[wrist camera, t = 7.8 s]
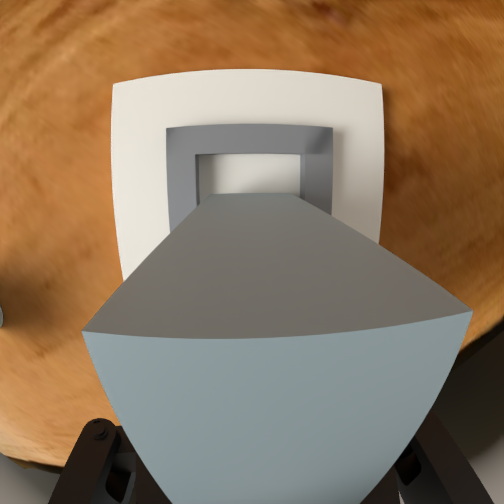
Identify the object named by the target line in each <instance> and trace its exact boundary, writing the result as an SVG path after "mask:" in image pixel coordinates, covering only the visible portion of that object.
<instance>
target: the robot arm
mask: <svg viewBox="0 0 504 504" xmlns="http://www.w3.org/2000/svg"><path fill="white" fill-rule="evenodd" d="M135 478H136V504H172V502H171V501H170V500H169V499H168V497H167V496H166V495H165V493H164V492H163V491H162V489H161V488H160V486H159V485H158V484H157V482H156V481H155V479H154V478H153V477H152V475H151V474H150V472H149V471H148V469H147V468H146V466H145V465H144V463H143V461H142V460H141V458H140V457H139V455H138V453H137V452H136V450H135V448H134V447H133V445H132V443H131V442H130V440H129V438H128V436H127V435H126V433H125V431H124V429H123V427H122V426H115V425H114V424H113V423H112V422H111V421H109V420H107V419H103V418H97V419H93V420H91V421H90V422H88V423H87V424H86V425H85V426H84V428H83V430H82V432H81V434H80V436H79V438H78V440H77V442H76V444H75V446H74V448H73V450H72V452H71V454H70V456H69V458H68V460H67V462H66V464H65V467H64V469H63V471H62V473H61V475H60V477H59V480H58V482H57V484H56V486H55V489H54V491H53V493H52V496H51V498H50V500H49V503H48V504H128V502H129V499H130V495H131V492H132V488H133V485H134V481H135ZM398 490H399V491H398ZM399 492H400V494H401V497H402V499H403V501H404V503H405V504H494V503H493V501H492V499H491V498H490V496H489V494H488V493H487V491H486V489H485V488H484V486H483V484H482V483H481V481H480V479H479V478H478V477H477V475H476V473H475V472H474V470H473V468H472V467H471V465H470V464H469V462H468V461H467V459H466V457H465V456H464V455H463V453H462V451H461V450H460V448H459V447H458V445H457V444H456V442H455V441H454V439H453V438H452V437H451V435H450V434H449V432H448V431H447V429H446V428H445V426H444V425H443V424H442V422H441V421H440V420H439V418H438V416H437V415H436V414H435V412H434V411H433V410H432V409H431V408H430V410H429V412H428V414H427V415H426V417H425V419H424V420H423V422H422V423H421V425H420V427H419V428H418V430H417V431H416V433H415V434H414V436H413V437H412V439H411V440H410V442H409V443H408V445H407V446H406V448H405V449H404V451H403V452H402V453H401V455H400V456H399V457H398V459H397V460H396V461H395V463H394V464H393V465H392V467H391V468H390V469H389V470H388V472H387V473H386V474H385V475H384V477H383V478H382V479H381V480H380V481H379V483H378V484H377V485H376V486H375V487H374V488H373V489H372V491H371V492H370V493H369V494H368V495H367V496H366V497H365V498H364V499H363V500H362V501H361V502H360V504H400V499H399Z"/></svg>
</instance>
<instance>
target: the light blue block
mask: <svg viewBox="0 0 504 504" xmlns="http://www.w3.org/2000/svg"><path fill="white" fill-rule="evenodd" d="M472 314H473V310H472V309H471V308H470V307H468V306H467V305H466V304H464V303H463V302H462V301H460V300H459V299H458V298H456V297H455V296H454V295H452V294H451V293H450V292H448V291H447V290H445V289H444V288H443V287H441V286H440V285H438V284H437V283H436V282H434V281H433V280H431V279H430V278H429V277H427V276H426V275H424V274H423V273H421V272H420V271H418V270H417V269H415V268H414V267H412V266H411V265H410V264H408V263H407V262H405V261H404V260H402V259H400V258H399V257H397V256H396V255H394V254H393V253H391V252H390V251H388V250H387V249H385V248H384V247H382V246H380V245H379V244H377V243H376V242H374V241H372V240H371V239H369V238H368V237H366V236H364V235H363V234H361V233H359V232H358V231H356V230H355V229H353V228H351V227H350V226H348V225H346V224H344V223H343V222H341V221H339V220H338V219H336V218H334V217H333V216H331V215H329V214H327V213H326V212H324V211H322V210H320V209H319V208H317V207H315V206H313V205H311V204H310V203H308V202H306V201H304V200H302V199H301V198H299V197H297V196H295V195H293V194H291V193H227V194H210V195H209V196H208V197H207V198H206V199H205V200H203V201H202V202H201V203H200V204H199V205H198V206H197V207H196V208H195V209H194V210H193V211H192V212H191V213H190V214H189V215H188V216H187V217H186V218H185V219H184V220H183V221H182V222H181V223H180V224H179V225H178V226H177V227H176V228H175V229H174V230H173V231H172V232H171V233H170V234H169V235H168V236H167V237H166V238H165V239H164V240H163V241H162V242H161V243H160V244H159V245H158V246H157V247H156V248H155V249H154V250H153V251H152V252H151V253H150V254H149V255H148V256H147V257H146V258H145V259H144V261H143V262H142V263H141V264H140V265H139V266H138V267H137V268H136V269H135V270H134V271H133V272H132V273H131V274H130V276H129V277H128V278H127V279H126V280H125V281H124V282H123V283H122V284H121V286H120V287H119V288H118V289H117V290H116V291H115V292H114V293H113V294H112V296H111V297H110V298H109V299H108V300H107V301H106V303H105V304H104V305H103V306H102V307H101V308H100V309H99V311H98V312H97V313H96V314H95V315H94V317H93V318H92V319H91V320H90V321H89V323H88V324H87V325H86V326H85V327H84V329H83V330H82V334H83V337H84V340H85V343H86V346H87V349H88V351H89V354H90V357H91V359H92V362H93V365H94V367H95V370H96V372H97V374H98V377H99V379H100V382H101V384H102V386H103V388H104V391H105V393H106V395H107V397H108V399H109V401H110V404H111V406H112V408H113V410H114V412H115V414H116V416H117V418H118V420H119V422H120V423H121V425H122V427H123V429H124V431H125V433H126V435H127V436H128V438H129V440H130V442H131V443H132V445H133V447H134V448H135V450H136V452H137V453H138V455H139V457H140V458H141V460H142V461H143V463H144V465H145V466H146V468H147V469H148V471H149V472H150V474H151V475H152V477H153V478H154V479H155V481H156V482H157V484H158V485H159V486H160V488H161V489H162V491H163V492H164V493H165V495H166V496H167V497H168V499H169V500H170V501H171V502H172V504H360V502H361V501H362V500H363V499H364V498H365V497H366V496H367V495H368V494H369V493H370V492H371V491H372V489H373V488H374V487H375V486H376V485H377V484H378V483H379V481H380V480H381V479H382V478H383V477H384V475H385V474H386V473H387V472H388V470H389V469H390V468H391V467H392V465H393V464H394V463H395V461H396V460H397V459H398V457H399V456H400V455H401V453H402V452H403V451H404V449H405V448H406V446H407V445H408V443H409V442H410V440H411V439H412V437H413V436H414V434H415V433H416V431H417V430H418V428H419V427H420V425H421V423H422V422H423V420H424V419H425V417H426V415H427V414H428V412H429V410H430V408H431V406H432V405H433V403H434V401H435V399H436V397H437V395H438V394H439V392H440V390H441V388H442V386H443V384H444V382H445V380H446V378H447V376H448V374H449V372H450V370H451V367H452V365H453V363H454V361H455V358H456V356H457V354H458V351H459V349H460V347H461V344H462V342H463V339H464V336H465V334H466V331H467V328H468V325H469V323H470V320H471V317H472Z"/></svg>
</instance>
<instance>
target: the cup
mask: <svg viewBox="0 0 504 504" xmlns="http://www.w3.org/2000/svg"><path fill="white" fill-rule="evenodd" d="M2 324H3V313H2V309H1V306H0V328H1V326H2Z"/></svg>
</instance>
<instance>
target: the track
mask: <svg viewBox="0 0 504 504" xmlns="http://www.w3.org/2000/svg"><path fill="white" fill-rule="evenodd" d="M111 166H112V187H113V202H114V213H115V223H116V232H117V240H118V248H119V255H120V262H121V268H122V274H123V280H124V281H125V280H126V279H127V278H128V277H129V276H130V274H131V273H132V272H133V271H134V270H135V269H136V268H137V267H138V266H139V265H140V264H141V263H142V262H143V261H144V259H145V258H146V257H147V256H148V255H149V254H150V253H151V252H152V251H153V250H154V249H155V248H156V247H157V246H158V245H159V244H160V243H161V242H162V241H163V240H164V239H165V238H166V237H167V236H168V235H169V234H170V233H171V232H172V231H173V230H174V229H175V228H176V227H177V226H178V225H179V224H180V223H181V222H182V221H183V220H184V219H185V218H186V217H187V216H188V215H189V214H190V213H191V212H192V211H193V210H194V209H195V208H196V207H197V206H198V205H199V204H200V203H201V202H202V201H203V200H205V199H206V198H207V197H208V196H209V195H210V194H227V193H291V194H293V195H295V196H297V197H299V198H301V199H302V200H304V201H306V202H308V203H310V204H311V205H313V206H315V207H317V208H319V209H320V210H322V211H324V212H326V213H327V214H329V215H331V216H333V217H334V218H336V219H338V220H339V221H341V222H343V223H344V224H346V225H348V226H350V227H351V228H353V229H355V230H356V231H358V232H359V233H361V234H363V235H364V236H366V237H368V238H369V239H371V240H372V241H374V242H376V243H377V244H379V236H380V226H381V214H382V200H383V181H384V116H383V98H382V85H381V84H379V83H374V82H369V81H364V80H359V79H354V78H348V77H342V76H335V75H328V74H320V73H311V72H301V71H288V70H269V69H225V70H206V71H193V72H183V73H174V74H166V75H159V76H152V77H146V78H140V79H135V80H130V81H125V82H120V83H116V84H113V95H112V115H111Z"/></svg>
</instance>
